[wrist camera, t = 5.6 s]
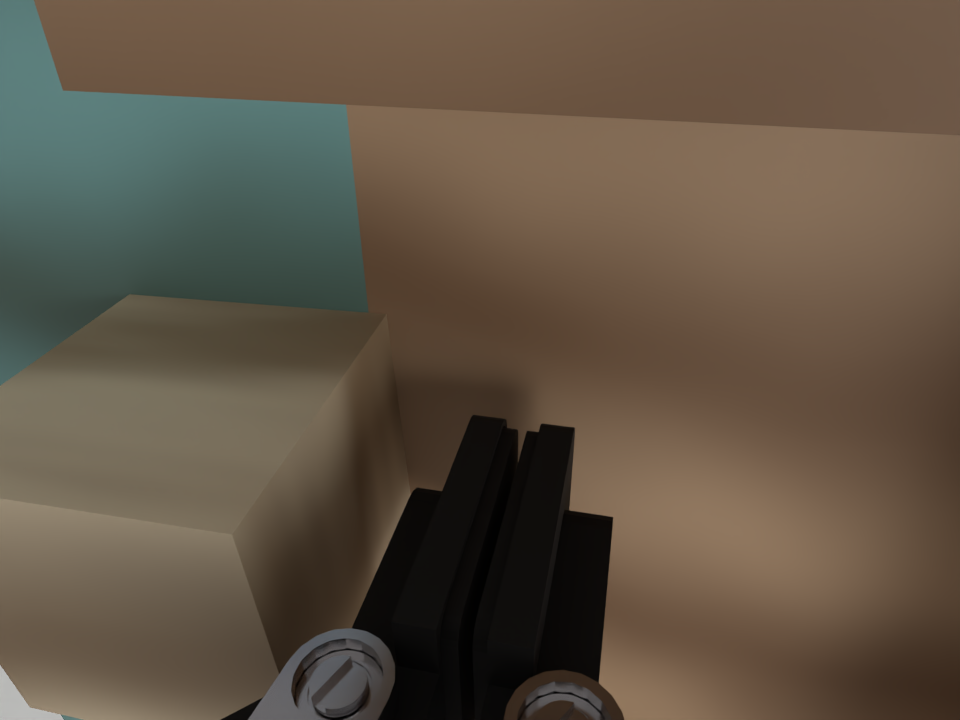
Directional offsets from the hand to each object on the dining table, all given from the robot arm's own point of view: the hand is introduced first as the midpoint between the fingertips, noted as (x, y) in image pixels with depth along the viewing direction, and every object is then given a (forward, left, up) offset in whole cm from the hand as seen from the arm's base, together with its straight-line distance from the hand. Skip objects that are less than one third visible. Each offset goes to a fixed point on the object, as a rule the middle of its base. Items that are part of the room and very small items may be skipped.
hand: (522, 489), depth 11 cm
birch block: (0, -5, -1) cm, 5 cm away
